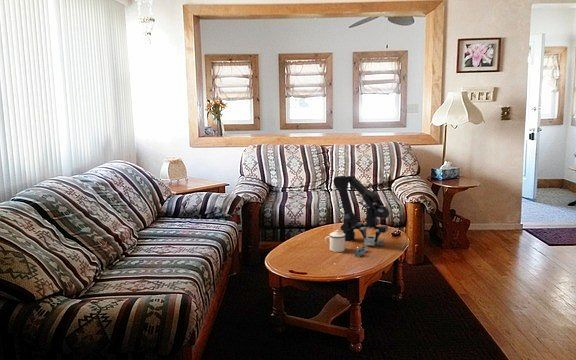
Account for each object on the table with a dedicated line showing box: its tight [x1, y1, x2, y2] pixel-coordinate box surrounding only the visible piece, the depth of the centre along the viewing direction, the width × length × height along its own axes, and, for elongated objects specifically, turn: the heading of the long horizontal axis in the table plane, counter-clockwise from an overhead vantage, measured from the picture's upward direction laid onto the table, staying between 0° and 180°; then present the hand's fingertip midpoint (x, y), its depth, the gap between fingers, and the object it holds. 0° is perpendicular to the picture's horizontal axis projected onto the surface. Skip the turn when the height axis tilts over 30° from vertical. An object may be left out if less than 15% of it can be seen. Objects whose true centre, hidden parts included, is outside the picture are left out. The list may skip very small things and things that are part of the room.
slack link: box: [359, 245, 368, 254], centre depth 273 cm, size 4×3×2 cm
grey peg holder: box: [374, 237, 385, 247], centre depth 286 cm, size 8×8×5 cm
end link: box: [363, 235, 378, 246], centre depth 282 cm, size 6×6×4 cm
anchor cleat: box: [354, 246, 364, 258], centre depth 266 cm, size 5×3×5 cm, turn 150°
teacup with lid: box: [324, 229, 346, 253], centre depth 276 cm, size 12×9×12 cm
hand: (370, 241), depth 282 cm, fingers closed on end link, 6 cm apart
